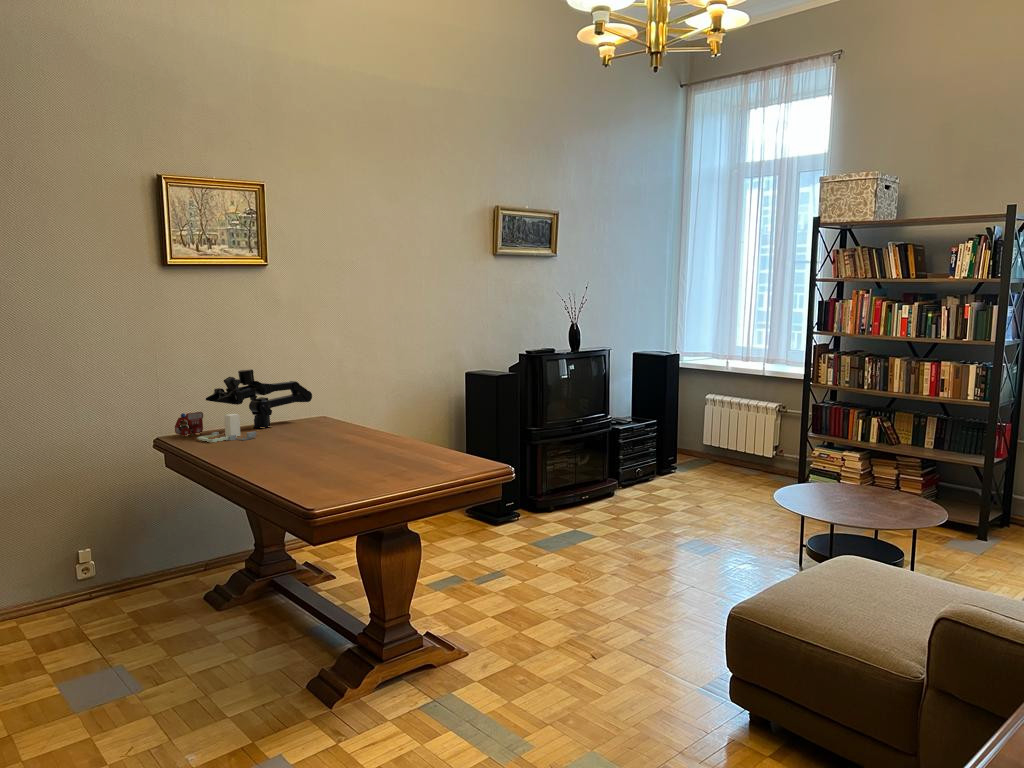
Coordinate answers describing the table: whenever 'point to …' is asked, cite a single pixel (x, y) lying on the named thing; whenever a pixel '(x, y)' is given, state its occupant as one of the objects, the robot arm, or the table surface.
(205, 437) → the sage bay
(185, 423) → the toy fire truck
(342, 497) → the table surface
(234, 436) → the channel
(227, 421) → the ivory block
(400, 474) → the table surface
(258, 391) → the robot arm
